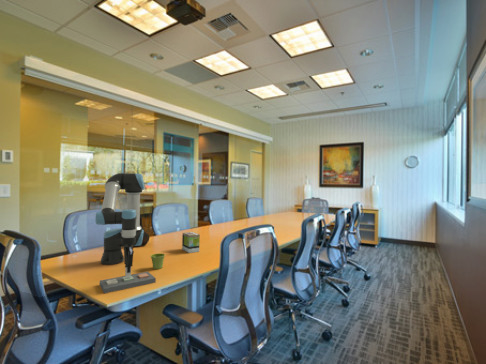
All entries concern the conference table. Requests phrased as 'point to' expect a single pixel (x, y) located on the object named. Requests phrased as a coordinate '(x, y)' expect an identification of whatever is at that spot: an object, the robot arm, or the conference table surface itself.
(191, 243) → the tea box
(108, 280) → the cream button
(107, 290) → the button board
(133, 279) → the sage button
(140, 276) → the terracotta button
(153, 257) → the plant pot
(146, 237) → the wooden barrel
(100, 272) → the conference table surface
